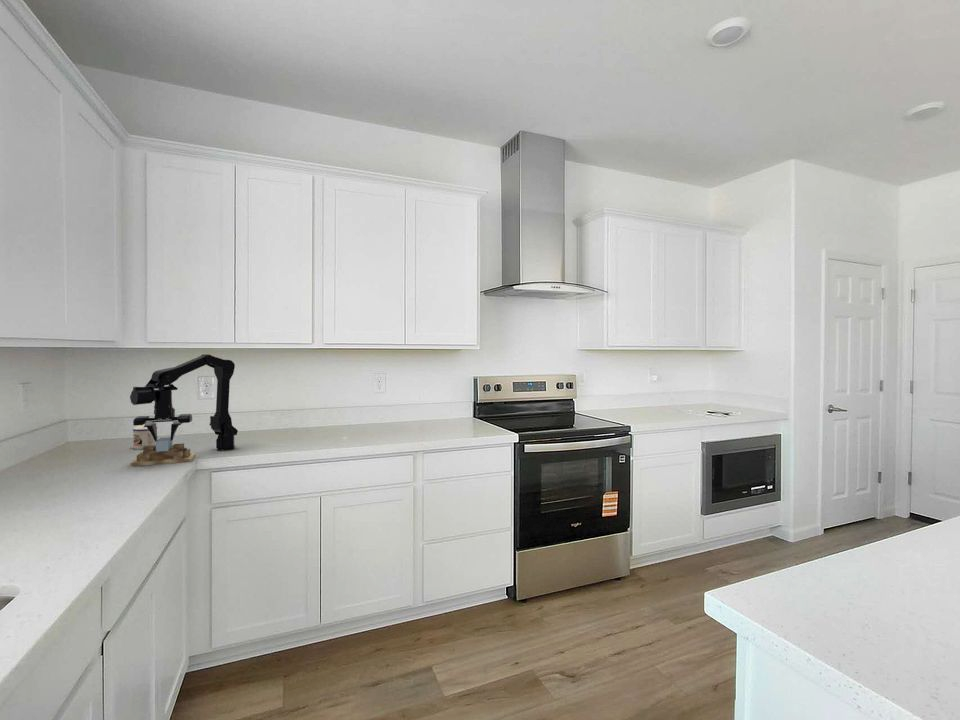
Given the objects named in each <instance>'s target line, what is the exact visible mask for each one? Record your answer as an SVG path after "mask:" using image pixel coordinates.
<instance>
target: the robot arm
mask: <svg viewBox="0 0 960 720" xmlns="http://www.w3.org/2000/svg"><path fill="white" fill-rule="evenodd" d="M204 366H208V367H210V368H212V369H213V371H214V372H213V373H214V376H215V377H216V381H217V382H216V403H215V413H214V415H210V417H209V421H210V422H209V426H210V429H211V430H212V431H213V432H214V434H215V435H216V436H217V438H216V439H215V443H216V451H228V450H234V449H235V447H236V445H235V436H237V435H238V432H239V430H238V429H237V428H236V427H234V425H233V421H232V417H231V415H230V411H229V408H230V407H229V405H230V403H229V402H230V381H231V379H232V377H233V375H234V373H235V366H236V363H235V362H233V361H232V360H230V359H223V358H220V357H218V356H214V355H212V354H208V353H206V354H205V353H204V354H201V355H199V356H197V357H195V358H192V359H191V360H188V361H186V362H183V363H180V364H178V365H176V366H173V367H168V368H167V367H166V368H163V369H158V370H154V372H152V374H151V378H150V380H149V381H148V382H147V383H146V384H145V385H144V386H133V387H132V390H131V393H130V396H129V399H130V403H131V404H132V405H133V406H137V405H139V406H140V405H146V404H148V405H149V404H152V403H153V402H154V405H153V406H154V407H153V408H154V409H153V415H154V417H150V416H149V415H143V416H142V415H141V416H139V415H138V416H136V417H135V418H134V419H133V421H132V422H133V426H139V425H143V424H145V425H144V427H147V428H148V430H149V431H150V433H151V434H152V436H153V438H154V440H155V442H156V441H157V440H158V430H157V431H156V426H157V423H165V422H166V423H167V422H169V423H170V422H172V423H171V425H170V426H171V427H170V437H171V441H172V440H174V438H175V434H176V432H177V429H178V428H179V426H181V425H182V424H187V423H188V424H189V423H191V422H192V421H193V415H192V414H191V413H182V414H179V415H178V416H175V415H176V409H175V408H174V407H173V393H172V392H173V391H177V390H178V387H177V386H175V385H174V383H175V382H176V381H178V379H180V378H181V377H182V376H184V375H186V374H188V373H190V372H193V371H195V370H198V369H199V368H201V367H204Z"/></svg>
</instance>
